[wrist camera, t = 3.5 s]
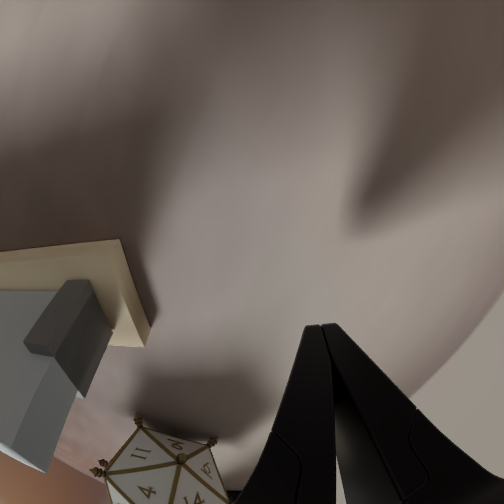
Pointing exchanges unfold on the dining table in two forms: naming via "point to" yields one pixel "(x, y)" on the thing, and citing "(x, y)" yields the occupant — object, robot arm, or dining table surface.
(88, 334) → the panel
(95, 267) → the rail
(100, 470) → the game die
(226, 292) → the dining table surface
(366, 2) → the dining table surface
